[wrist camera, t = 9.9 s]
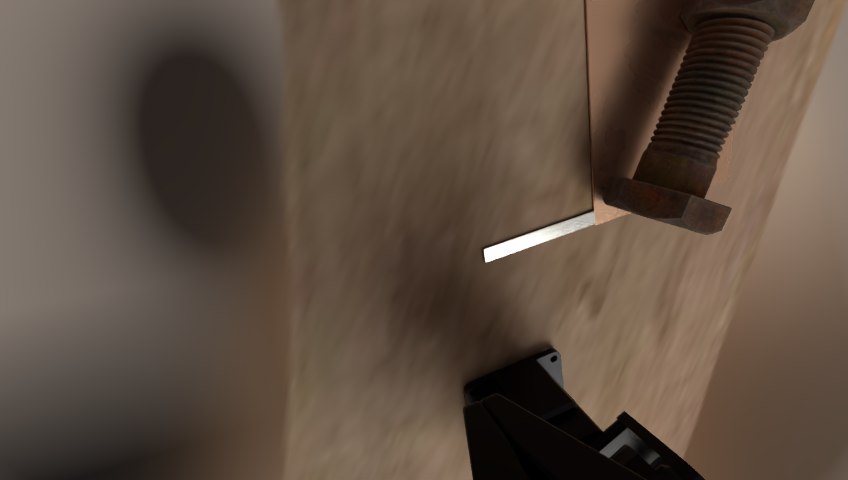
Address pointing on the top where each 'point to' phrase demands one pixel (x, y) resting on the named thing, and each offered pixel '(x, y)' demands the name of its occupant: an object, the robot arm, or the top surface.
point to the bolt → (703, 110)
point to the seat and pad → (623, 100)
